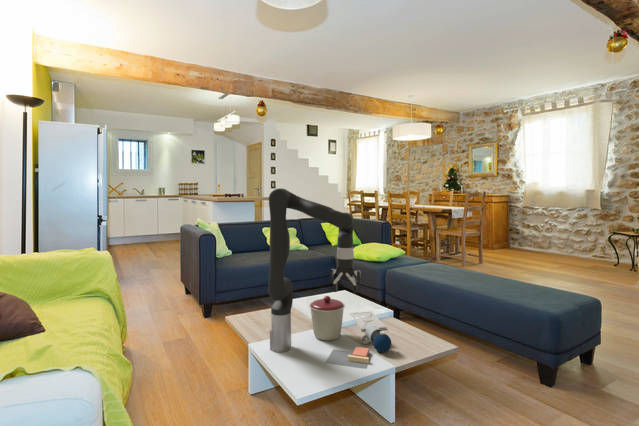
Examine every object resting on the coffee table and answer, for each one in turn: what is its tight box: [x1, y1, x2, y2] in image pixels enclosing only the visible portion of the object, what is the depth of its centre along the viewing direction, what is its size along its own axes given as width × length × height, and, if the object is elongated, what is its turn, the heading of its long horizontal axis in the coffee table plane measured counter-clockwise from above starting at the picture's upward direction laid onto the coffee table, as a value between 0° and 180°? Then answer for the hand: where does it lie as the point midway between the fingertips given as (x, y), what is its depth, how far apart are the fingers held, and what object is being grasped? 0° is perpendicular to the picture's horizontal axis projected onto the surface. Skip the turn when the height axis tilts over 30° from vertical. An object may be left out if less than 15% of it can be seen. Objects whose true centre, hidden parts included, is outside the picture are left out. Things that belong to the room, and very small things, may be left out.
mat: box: [324, 349, 373, 370], centre depth 162 cm, size 18×14×2 cm
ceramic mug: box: [360, 325, 383, 345], centre depth 180 cm, size 11×8×8 cm
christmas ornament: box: [372, 330, 392, 353], centre depth 169 cm, size 8×8×10 cm
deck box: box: [352, 346, 370, 357], centre depth 164 cm, size 6×2×8 cm
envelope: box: [349, 311, 387, 332], centre depth 207 cm, size 24×2×14 cm
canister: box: [308, 295, 346, 342], centre depth 186 cm, size 18×18×21 cm
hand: (345, 292), depth 166 cm, fingers open, 8 cm apart
